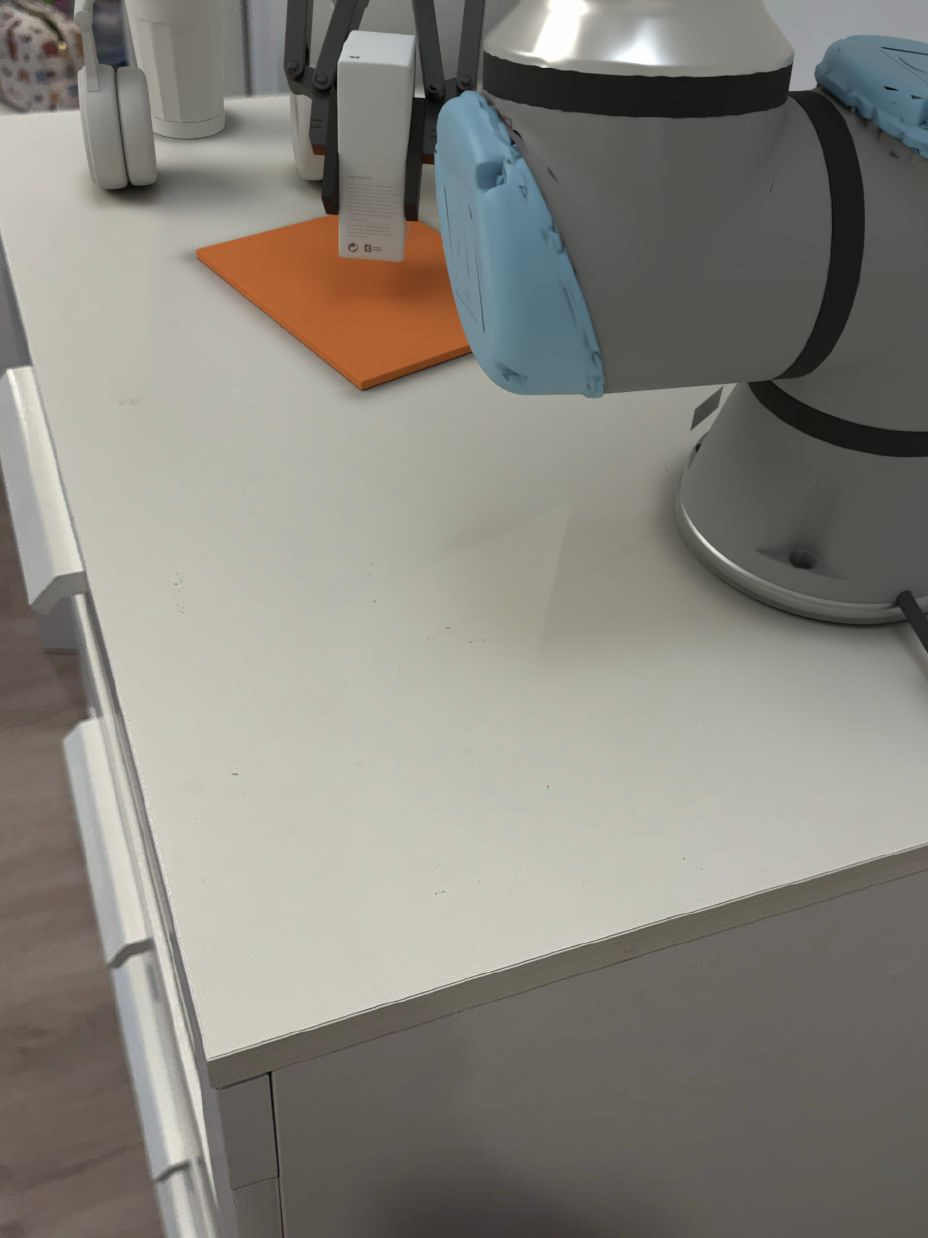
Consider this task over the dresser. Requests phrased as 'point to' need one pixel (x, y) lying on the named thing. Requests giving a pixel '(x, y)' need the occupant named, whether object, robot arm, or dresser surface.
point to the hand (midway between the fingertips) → (370, 208)
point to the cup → (181, 63)
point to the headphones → (146, 119)
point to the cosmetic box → (374, 143)
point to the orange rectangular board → (349, 297)
